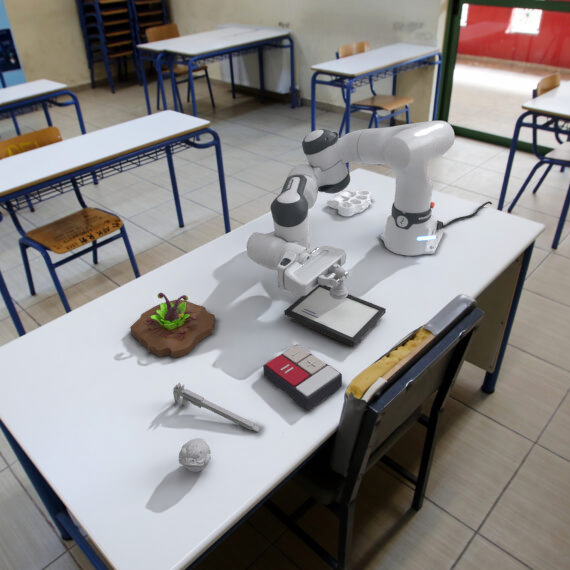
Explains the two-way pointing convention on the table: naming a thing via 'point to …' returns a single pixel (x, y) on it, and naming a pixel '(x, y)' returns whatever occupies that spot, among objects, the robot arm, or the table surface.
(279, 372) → the calculator
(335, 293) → the chess piece
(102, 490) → the table surface
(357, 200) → the white egg carton
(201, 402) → the caliper
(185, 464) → the frog figurine
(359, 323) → the whiteboard
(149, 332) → the plant
